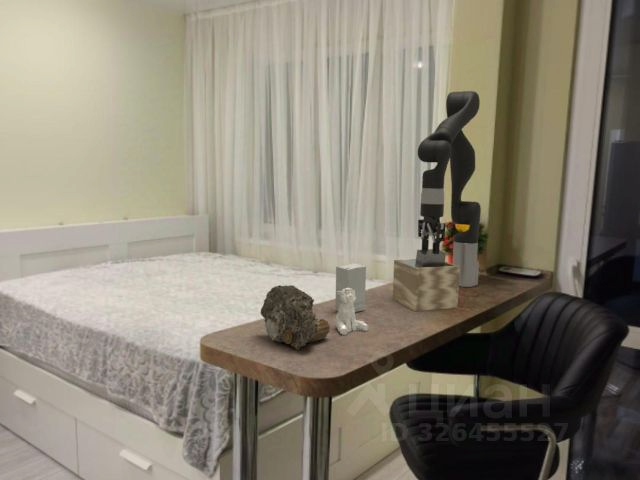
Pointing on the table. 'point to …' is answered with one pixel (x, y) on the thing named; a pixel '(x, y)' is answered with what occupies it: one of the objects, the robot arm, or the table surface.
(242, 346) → the table surface
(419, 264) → the metal brick
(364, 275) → the skincare box
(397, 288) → the hatch box
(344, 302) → the seated beast figurine
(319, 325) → the rock
